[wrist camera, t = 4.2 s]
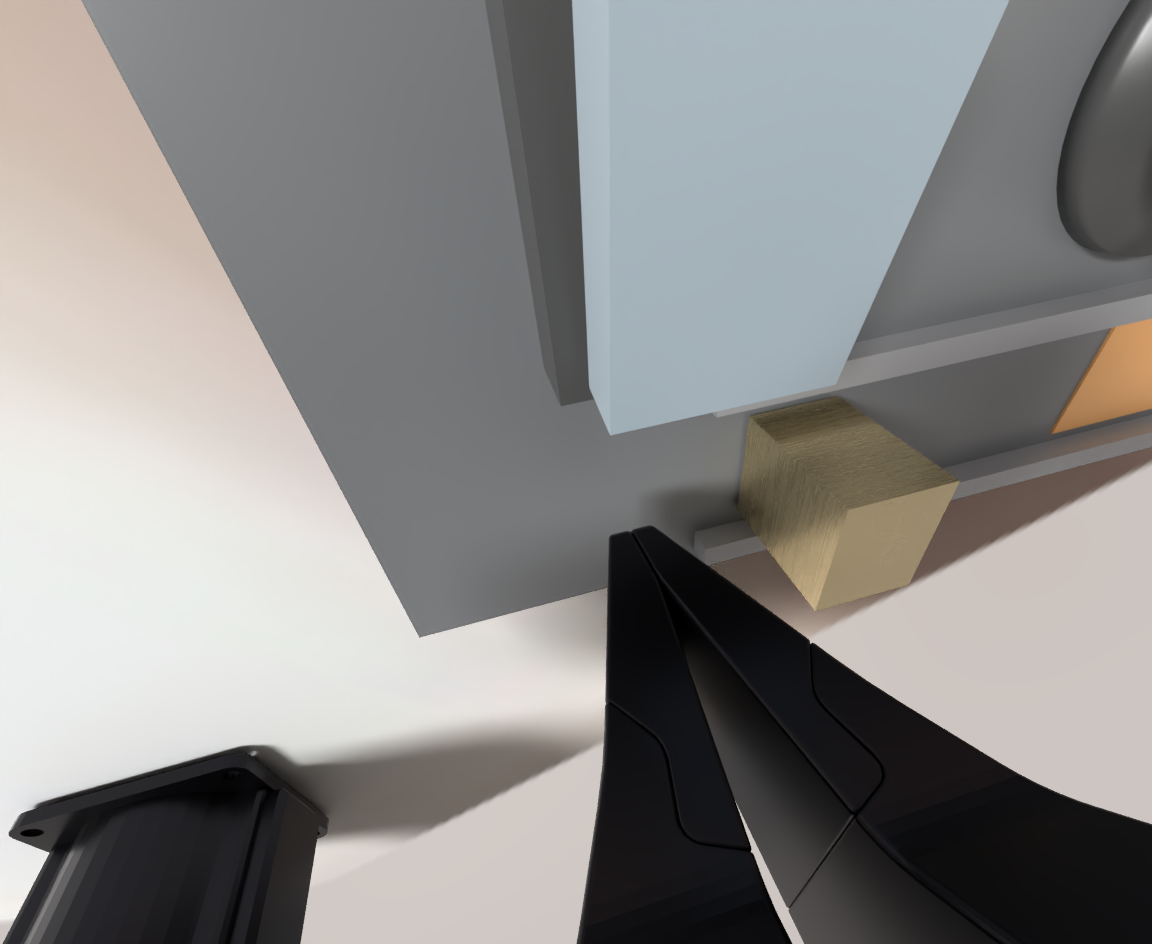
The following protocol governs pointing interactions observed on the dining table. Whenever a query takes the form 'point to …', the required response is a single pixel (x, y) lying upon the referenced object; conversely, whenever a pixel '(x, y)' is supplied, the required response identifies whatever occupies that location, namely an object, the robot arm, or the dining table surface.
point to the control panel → (557, 288)
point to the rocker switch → (751, 184)
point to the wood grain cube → (839, 500)
